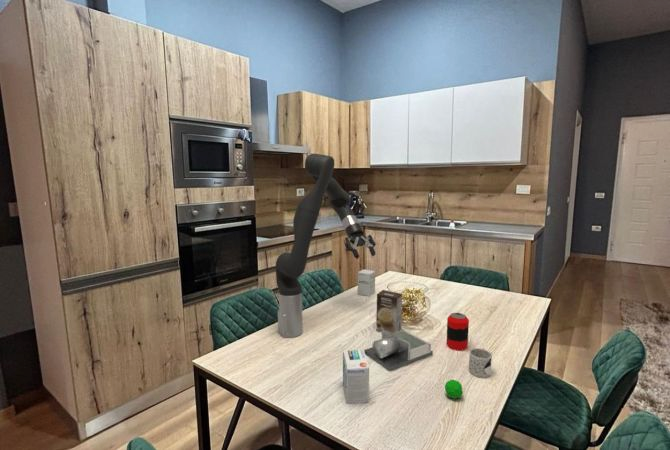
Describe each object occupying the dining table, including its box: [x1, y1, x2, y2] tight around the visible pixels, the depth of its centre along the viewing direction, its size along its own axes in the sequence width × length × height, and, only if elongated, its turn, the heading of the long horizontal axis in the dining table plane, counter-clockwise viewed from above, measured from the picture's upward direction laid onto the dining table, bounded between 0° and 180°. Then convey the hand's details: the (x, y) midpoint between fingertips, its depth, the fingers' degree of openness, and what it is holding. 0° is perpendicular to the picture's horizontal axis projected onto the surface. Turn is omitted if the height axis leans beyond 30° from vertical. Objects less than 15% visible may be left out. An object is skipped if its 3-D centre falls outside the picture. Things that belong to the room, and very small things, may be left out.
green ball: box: [444, 379, 464, 400], centre depth 103 cm, size 5×5×5 cm
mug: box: [468, 348, 493, 379], centre depth 117 cm, size 10×7×7 cm, turn 148°
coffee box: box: [375, 289, 403, 333], centre depth 146 cm, size 9×6×16 cm
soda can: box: [445, 312, 470, 351], centre depth 133 cm, size 8×8×12 cm
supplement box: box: [357, 268, 376, 298], centre depth 192 cm, size 7×7×13 cm
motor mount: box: [363, 329, 434, 372], centre depth 127 cm, size 20×14×8 cm
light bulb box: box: [342, 349, 370, 404], centre depth 105 cm, size 11×7×11 cm, turn 5°
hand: (366, 256), depth 157 cm, fingers open, 8 cm apart
